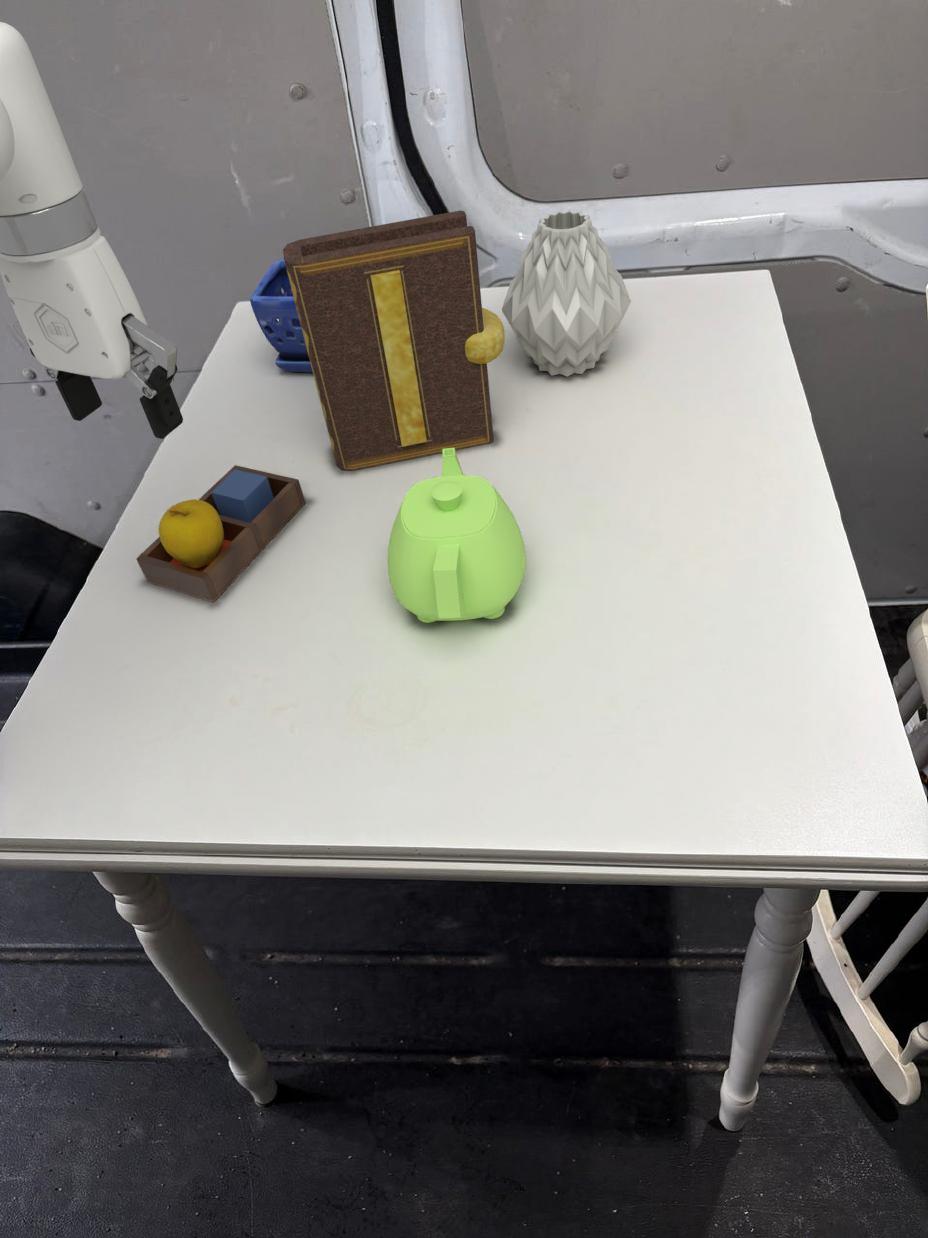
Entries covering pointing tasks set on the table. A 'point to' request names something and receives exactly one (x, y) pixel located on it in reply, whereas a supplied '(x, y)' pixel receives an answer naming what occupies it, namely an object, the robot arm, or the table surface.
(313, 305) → the book
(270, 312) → the flower pot
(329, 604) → the table surface
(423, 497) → the teapot
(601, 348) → the vase
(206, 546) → the apple
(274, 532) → the tray
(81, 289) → the robot arm
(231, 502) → the blue block
